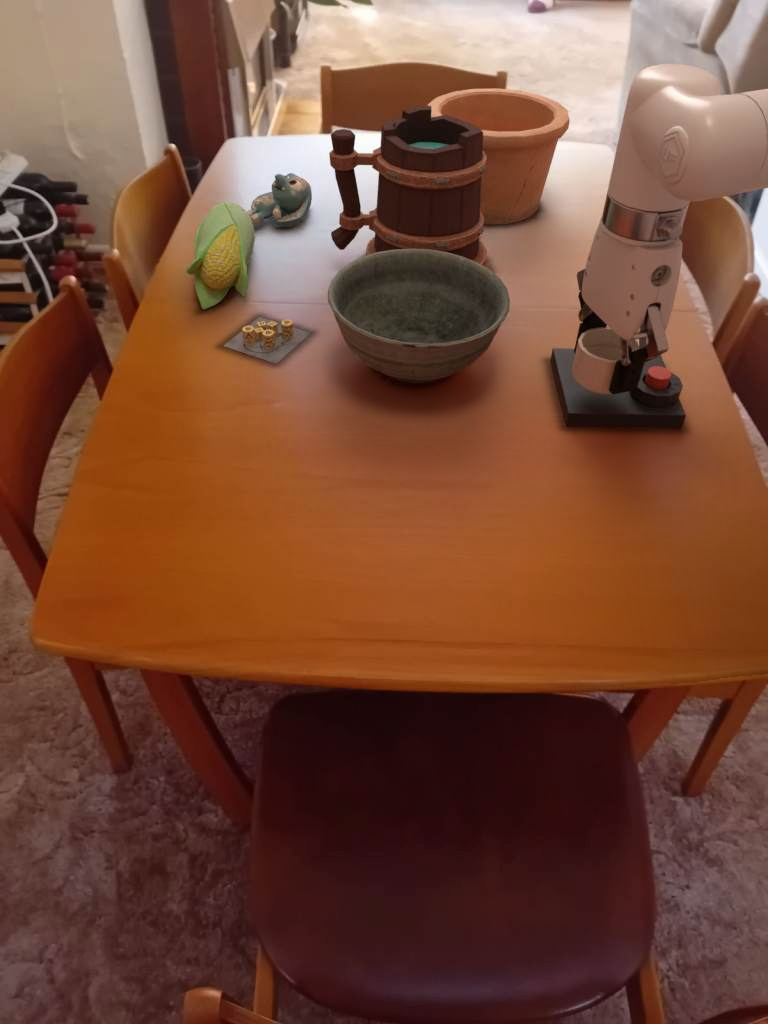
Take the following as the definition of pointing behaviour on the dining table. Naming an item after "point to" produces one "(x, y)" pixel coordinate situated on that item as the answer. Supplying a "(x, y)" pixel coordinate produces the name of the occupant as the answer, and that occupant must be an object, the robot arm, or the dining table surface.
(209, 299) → the corn
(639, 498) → the dining table surface
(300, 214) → the grey-green animal figurine
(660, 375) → the tare button
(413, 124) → the mug
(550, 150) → the pottery
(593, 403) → the black button base
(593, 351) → the small bowl
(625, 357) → the robot arm
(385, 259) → the bowl
